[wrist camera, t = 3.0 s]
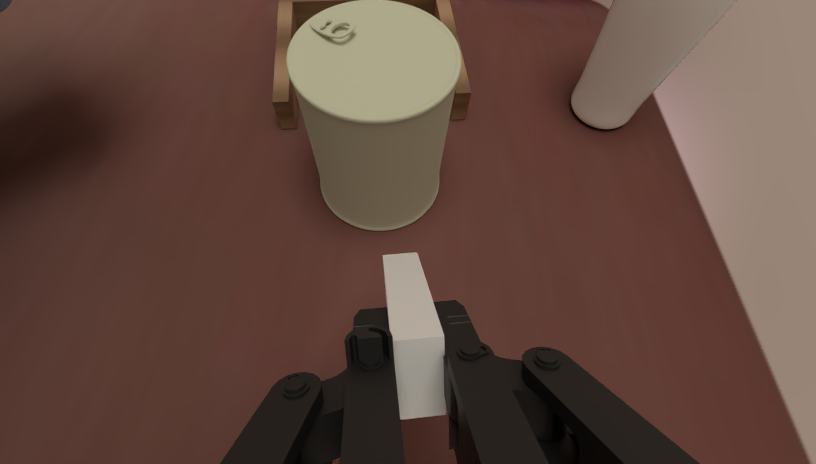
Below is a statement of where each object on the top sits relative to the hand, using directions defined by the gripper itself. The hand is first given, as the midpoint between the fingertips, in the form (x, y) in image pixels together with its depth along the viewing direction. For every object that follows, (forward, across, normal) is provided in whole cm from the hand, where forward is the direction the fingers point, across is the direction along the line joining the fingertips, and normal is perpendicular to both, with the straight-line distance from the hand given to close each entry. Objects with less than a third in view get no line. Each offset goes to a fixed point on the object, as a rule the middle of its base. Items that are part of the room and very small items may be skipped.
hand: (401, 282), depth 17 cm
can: (+15, 0, +2) cm, 15 cm away
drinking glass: (+19, +19, +6) cm, 28 cm away
